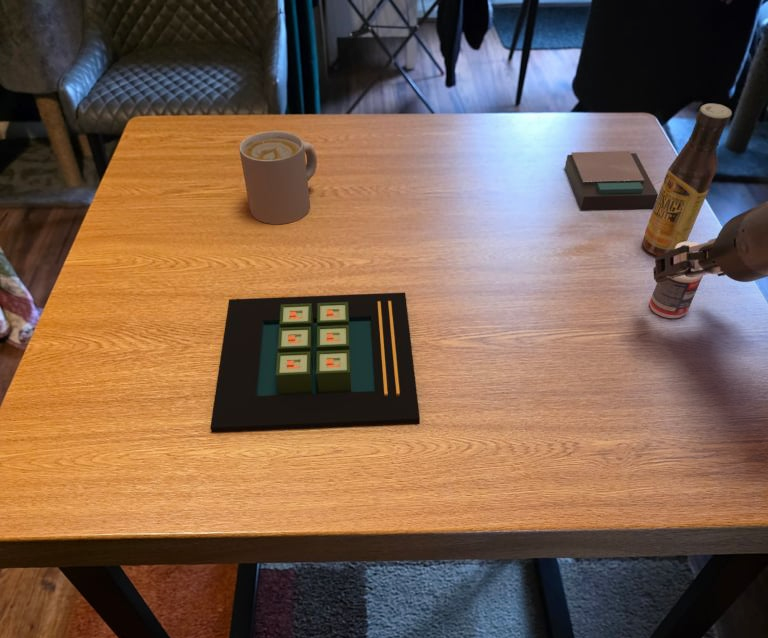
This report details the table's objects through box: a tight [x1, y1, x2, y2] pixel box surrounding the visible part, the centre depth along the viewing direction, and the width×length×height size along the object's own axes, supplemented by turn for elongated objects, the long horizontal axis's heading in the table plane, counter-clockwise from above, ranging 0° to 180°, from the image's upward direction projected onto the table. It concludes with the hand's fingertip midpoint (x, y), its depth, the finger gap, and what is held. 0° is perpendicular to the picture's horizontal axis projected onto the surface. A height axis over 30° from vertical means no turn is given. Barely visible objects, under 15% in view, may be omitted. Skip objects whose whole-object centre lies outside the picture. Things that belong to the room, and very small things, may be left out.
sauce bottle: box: [642, 103, 733, 257], centre depth 93 cm, size 6×6×20 cm
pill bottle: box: [649, 240, 704, 319], centre depth 89 cm, size 5×5×9 cm
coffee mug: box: [238, 130, 318, 225], centre depth 106 cm, size 13×10×10 cm
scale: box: [564, 150, 659, 211], centre depth 111 cm, size 12×14×3 cm
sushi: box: [209, 292, 421, 434], centre depth 85 cm, size 25×25×4 cm
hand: (688, 271), depth 86 cm, fingers open, 8 cm apart
